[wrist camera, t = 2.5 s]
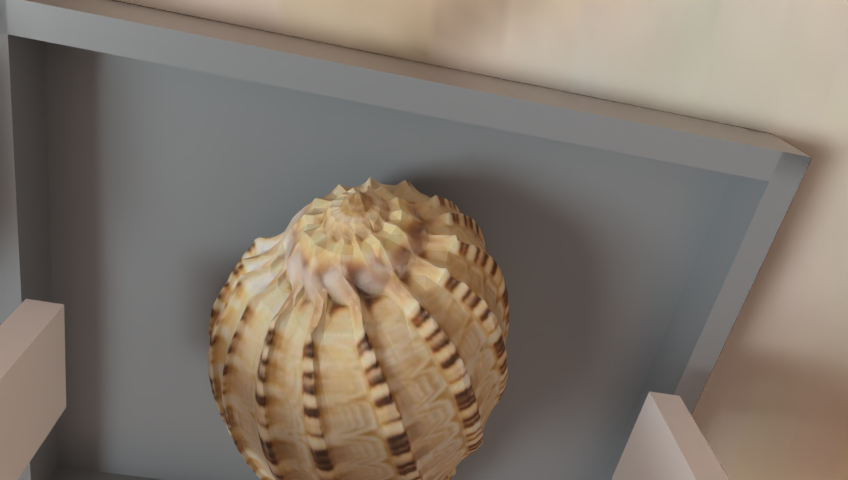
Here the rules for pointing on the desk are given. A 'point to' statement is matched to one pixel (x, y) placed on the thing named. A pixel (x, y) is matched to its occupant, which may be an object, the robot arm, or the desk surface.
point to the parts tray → (352, 166)
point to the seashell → (361, 340)
